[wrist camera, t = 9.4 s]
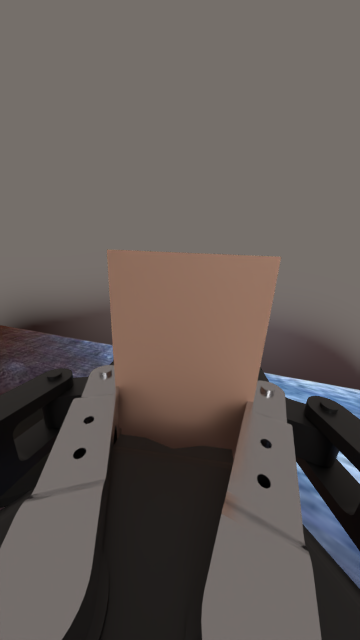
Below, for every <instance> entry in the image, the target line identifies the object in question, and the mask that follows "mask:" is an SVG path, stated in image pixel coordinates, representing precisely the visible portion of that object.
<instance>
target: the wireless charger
mask: <svg viewBox="0 0 360 640" xmlns="http://www.w3.org/2000/svg"><path fill="white" fill-rule="evenodd" d="M43 418H44V417H43V412H42V408H41V409H39V410H38V411H36V412H35V413H33V414H32V415H30V416H29V417H27V418H26V419H24V420H23V421H21V422H20V423H19V424H18V425H17V426H16V428H15V429H14V432H13V439H16V438H17V437H18V436H20V435H21V434H23V433H24V432H25V431H27V430H28V429H29V428H31V427H32V426H34V425H35V424H36V423H38V422H39V421H40V420H42V419H43ZM50 452H51V451H50ZM50 452H49V453H48V454H47V455H45V456H44V457H43V458H42V459H41V460H40V461H39V462H38V463H37V464H36V465H35V466H33V467H32V468H31V469H30V470H29V471H28V472H27V473H26V474H25V475H24V476H23V477H21V478H20V479H19V480H18V481H17V482H16V483H15V484H14V485H13V486H12V487H11V488H10V489H8V490H7V491H6V492H5V493H4V494H3V495H2V496H1V497H0V507H6V506H8V505H10V504H11V503H13V502H14V501H16V500H17V499H19V498H20V497H22V496H23V495H25V494H26V493H28V492H29V491H31V490H32V489H34V488H35V487H36V485H37V482H38V480H39V478H40V476H41V473H42V471H43V469H44V466H45V464H46V462H47V459H48V457H49V455H50Z"/></svg>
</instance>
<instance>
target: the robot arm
mask: <svg viewBox="0 0 360 640" xmlns="http://www.w3.org/2000/svg"><path fill="white" fill-rule="evenodd" d="M119 399H120V392H119V386H115V373H114V361H113V362H112V363H111V364H110V365H105V366H101V367H98V368H96V369H94V370H93V371H92V372H91V373H90V375H89V377H81V378H73V375H72V371H71V370H69V369H54V370H51V371H48V372H45V373H43V374H41V375H39V376H38V377H36V378H34V379H32V380H30V381H28V382H26V383H24V384H22V385H20V386H18V387H16V388H14V389H12V390H10V391H8V392H6V393H4V394H2V395H0V497H1V496H2V495H3V494H4V493H5V492H6V491H7V490H8V489H10V488H11V487H12V486H13V485H14V484H15V483H16V482H17V481H18V480H19V479H20V478H21V477H23V476H24V475H25V474H26V473H27V472H28V471H29V470H30V469H31V468H32V467H33V466H35V465H36V464H37V463H38V462H39V461H40V460H41V459H42V458H43V457H44V456H45V455H47V454H48V453H49V452H50V451H51V452H50V455H49V457H48V459H47V462H46V464H45V466H44V469H43V471H42V473H41V476H40V478H39V480H38V482H37V485H36V487H35V488H34V489H32V490H31V491H29V492H28V493H26V494H25V495H23V496H22V497H20V498H19V499H17V500H16V501H14V502H13V503H11V504H10V505H8V506H7V507H5V508H4V509H2V510H1V511H0V640H360V589H359V588H358V587H357V585H356V584H355V583H354V582H353V581H352V580H351V579H350V577H349V576H348V575H347V574H346V573H345V572H344V571H343V570H342V568H341V567H340V566H339V565H338V564H337V563H336V562H335V560H334V559H333V558H332V557H331V556H330V555H329V554H328V552H327V551H326V550H325V549H324V548H323V547H322V546H321V544H320V543H319V542H318V541H317V540H316V539H315V538H314V536H313V535H312V534H311V533H310V532H309V531H308V530H307V529H306V527H305V526H304V525H303V524H302V515H301V506H300V496H299V486H298V477H297V467H296V462H297V463H298V465H299V466H300V468H301V469H302V470H303V472H304V473H305V475H306V476H307V477H308V479H309V480H310V482H311V483H312V484H313V486H314V487H315V489H316V490H317V492H318V493H319V494H320V496H321V497H322V499H323V500H324V501H325V503H326V504H327V506H328V507H329V508H330V510H331V511H332V513H333V514H334V515H335V517H336V518H337V520H338V521H339V523H340V524H341V525H342V527H343V528H344V530H345V531H346V532H347V534H348V535H349V537H350V538H351V539H352V541H353V542H354V544H355V545H356V546H357V548H358V549H359V551H360V484H359V483H358V482H357V481H356V480H355V478H354V477H353V476H352V475H351V474H350V473H349V472H348V471H347V470H346V469H345V468H344V467H343V465H342V464H341V463H340V462H339V461H338V460H337V459H336V458H337V455H338V452H339V451H340V452H341V453H342V454H343V455H344V456H345V457H346V458H347V459H348V460H349V461H350V462H351V463H352V464H353V465H354V466H355V467H356V468H357V469H358V470H359V472H360V419H358V418H357V417H356V416H355V415H353V414H352V413H351V412H349V411H348V410H347V409H345V408H344V407H343V406H341V405H340V404H338V403H336V402H334V401H332V400H330V399H327V398H324V397H320V396H311V397H309V398H308V399H307V402H306V404H304V403H300V402H297V401H294V400H291V399H288V398H286V397H285V393H284V391H283V390H282V389H281V388H280V387H278V386H277V385H275V384H273V383H270V382H269V381H268V379H267V378H266V376H265V374H264V372H263V371H262V369H261V367H260V370H259V375H258V381H257V386H256V391H255V396H254V402H250V401H247V405H246V408H245V412H244V416H243V421H242V425H241V430H240V435H239V439H238V444H237V448H236V453H235V457H234V460H233V454H232V449H224V448H217V447H210V446H195V447H185V448H176V449H174V448H170V447H167V446H165V445H163V444H160V443H158V442H155V441H153V440H150V439H148V438H145V437H138V436H130V435H123V434H122V428H119ZM41 408H42V412H43V417H44V418H43V419H42V420H40V421H39V422H38V423H36V424H35V425H34V426H32V427H31V428H29V429H28V430H27V431H25V432H24V433H23V434H21V435H20V436H18V437H17V438H16V439H13V432H14V429H15V428H16V426H17V425H18V424H19V423H20V422H21V421H23V420H24V419H26V418H27V417H29V416H30V415H32V414H33V413H35V412H36V411H38V410H39V409H41Z"/></svg>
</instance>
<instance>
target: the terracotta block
mask: <svg viewBox="0 0 360 640" xmlns="http://www.w3.org/2000/svg"><path fill="white" fill-rule="evenodd" d="M107 259H108V275H109V291H110V307H111V324H112V340H113V356H114V373H115V386H119V392H120V399H119V428H122V434H123V435H130V436H138V437H145V438H148V439H150V440H153V441H155V442H158V443H160V444H163V445H165V446H167V447H170V448H174V449H176V448H185V447H195V446H210V447H217V448H224V449H232V454H233V460H234V457H235V453H236V448H237V444H238V439H239V435H240V430H241V425H242V421H243V416H244V412H245V408H246V405H247V401H250V402H254V396H255V391H256V386H257V381H258V375H259V370H260V365H261V359H262V354H263V349H264V344H265V339H266V334H267V328H268V323H269V318H270V313H271V307H272V302H273V297H274V292H275V286H276V281H277V276H278V271H279V265H280V260H281V257H273V256H249V255H226V254H202V253H201V254H200V253H177V252H153V251H130V250H107Z"/></svg>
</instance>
